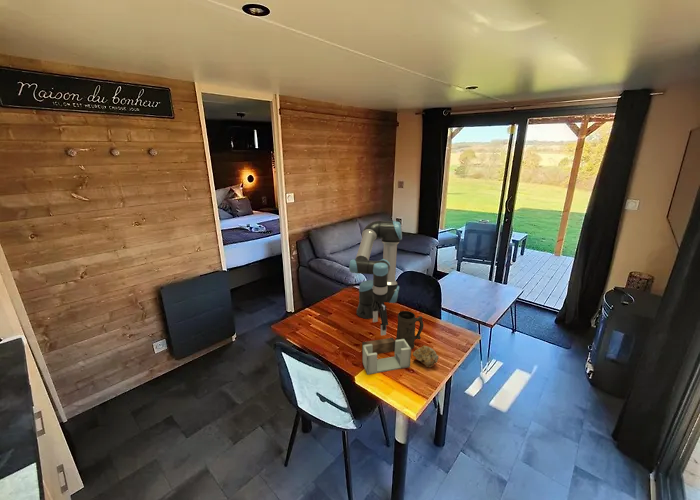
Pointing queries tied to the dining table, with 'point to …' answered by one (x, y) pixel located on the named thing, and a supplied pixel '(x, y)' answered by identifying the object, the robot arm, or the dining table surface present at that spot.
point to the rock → (426, 355)
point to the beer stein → (408, 327)
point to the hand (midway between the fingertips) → (379, 328)
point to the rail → (381, 345)
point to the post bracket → (389, 363)
